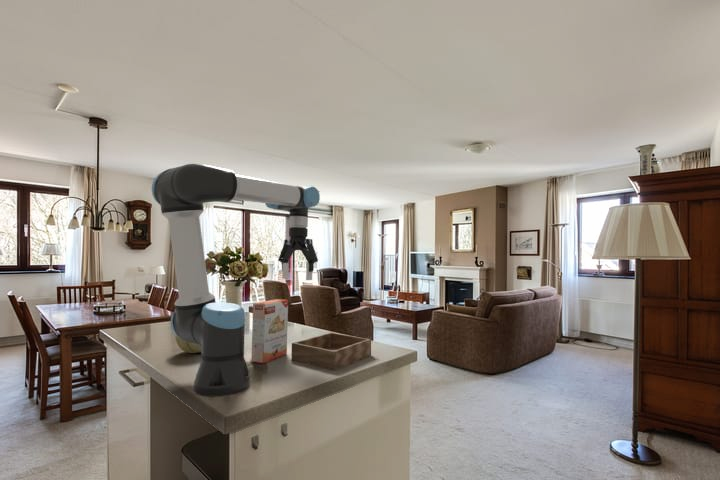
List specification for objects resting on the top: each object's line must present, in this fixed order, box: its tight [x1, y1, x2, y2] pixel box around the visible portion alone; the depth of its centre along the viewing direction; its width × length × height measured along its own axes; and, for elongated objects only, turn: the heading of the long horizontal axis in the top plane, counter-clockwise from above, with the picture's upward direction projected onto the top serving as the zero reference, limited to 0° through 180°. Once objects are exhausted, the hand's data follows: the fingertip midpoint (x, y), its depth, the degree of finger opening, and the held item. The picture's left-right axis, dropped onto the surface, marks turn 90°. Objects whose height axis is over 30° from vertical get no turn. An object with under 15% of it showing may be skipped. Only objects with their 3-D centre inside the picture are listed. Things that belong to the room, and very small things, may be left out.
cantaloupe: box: [174, 334, 202, 354], centre depth 139 cm, size 15×15×15 cm
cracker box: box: [250, 298, 289, 364], centre depth 132 cm, size 14×6×21 cm, turn 156°
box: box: [291, 332, 372, 371], centre depth 133 cm, size 22×20×6 cm
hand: (296, 279), depth 146 cm, fingers open, 13 cm apart
